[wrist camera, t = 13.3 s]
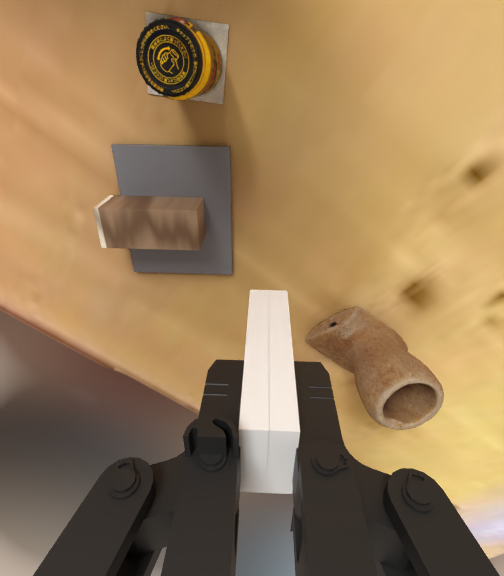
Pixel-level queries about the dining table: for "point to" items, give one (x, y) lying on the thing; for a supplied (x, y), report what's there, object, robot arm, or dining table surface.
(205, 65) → the condiment
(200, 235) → the walnut block
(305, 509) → the robot arm
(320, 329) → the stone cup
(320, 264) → the dining table surface
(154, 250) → the mat
